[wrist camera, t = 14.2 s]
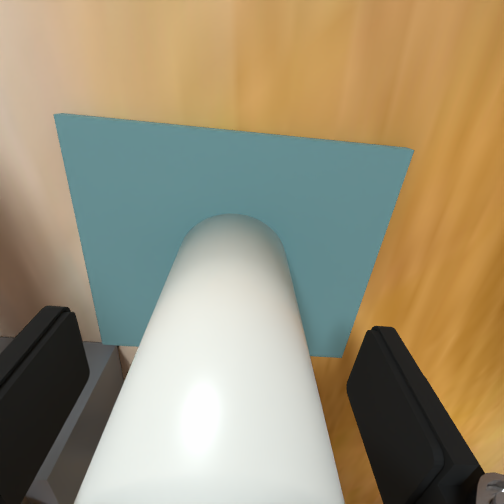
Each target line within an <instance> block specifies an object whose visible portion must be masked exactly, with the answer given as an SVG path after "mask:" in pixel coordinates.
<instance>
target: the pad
mask: <svg viewBox="0 0 504 504" xmlns="http://www.w3.org/2000/svg"><path fill="white" fill-rule="evenodd" d="M54 119H55V124H56V128H57V133H58V138H59V142H60V147H61V152H62V156H63V161H64V166H65V170H66V175H67V180H68V184H69V189H70V194H71V199H72V203H73V208H74V213H75V217H76V222H77V227H78V231H79V236H80V241H81V245H82V250H83V255H84V259H85V264H86V269H87V274H88V278H89V283H90V288H91V292H92V297H93V302H94V306H95V311H96V316H97V320H98V325H99V330H100V334H101V339H102V344H103V345H118V346H136V347H139V345H140V343H141V340H142V338H143V335H144V333H145V330H146V328H147V326H148V323H149V321H150V318H151V316H152V314H153V311H154V309H155V306H156V304H157V302H158V299H159V297H160V294H161V292H162V289H163V287H164V285H165V282H166V280H167V277H168V275H169V273H170V270H171V268H172V265H173V263H174V261H175V258H176V256H177V253H178V251H179V248H180V246H181V244H182V241H183V240H184V238H185V236H186V235H187V233H188V232H189V231H190V230H191V229H192V228H193V227H194V226H195V225H197V224H198V223H200V222H201V221H203V220H205V219H207V218H210V217H213V216H216V215H221V214H241V215H246V216H250V217H253V218H255V219H258V220H260V221H261V222H263V223H265V224H266V225H267V226H269V227H270V228H271V229H272V230H273V231H274V232H275V233H276V234H277V236H278V237H279V238H280V240H281V242H282V244H283V247H284V249H285V254H286V258H287V262H288V266H289V270H290V275H291V279H292V283H293V287H294V291H295V296H296V300H297V304H298V308H299V312H300V317H301V321H302V325H303V329H304V334H305V338H306V342H307V346H308V350H309V355H310V356H319V357H337V358H342V355H343V353H344V350H345V347H346V344H347V341H348V338H349V335H350V333H351V330H352V327H353V324H354V321H355V318H356V315H357V313H358V310H359V307H360V304H361V301H362V298H363V295H364V292H365V290H366V287H367V284H368V281H369V278H370V275H371V272H372V270H373V267H374V264H375V261H376V258H377V255H378V252H379V250H380V247H381V244H382V241H383V238H384V235H385V232H386V230H387V227H388V224H389V221H390V218H391V215H392V212H393V210H394V207H395V204H396V201H397V198H398V195H399V192H400V189H401V187H402V184H403V181H404V178H405V175H406V172H407V169H408V167H409V164H410V161H411V158H412V155H413V152H414V150H412V149H409V148H405V147H395V146H385V145H375V144H365V143H355V142H345V141H335V140H325V139H315V138H305V137H295V136H285V135H275V134H265V133H255V132H245V131H235V130H225V129H215V128H205V127H195V126H185V125H175V124H165V123H155V122H145V121H135V120H125V119H115V118H105V117H95V116H85V115H75V114H65V113H61V114H54Z"/></svg>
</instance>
